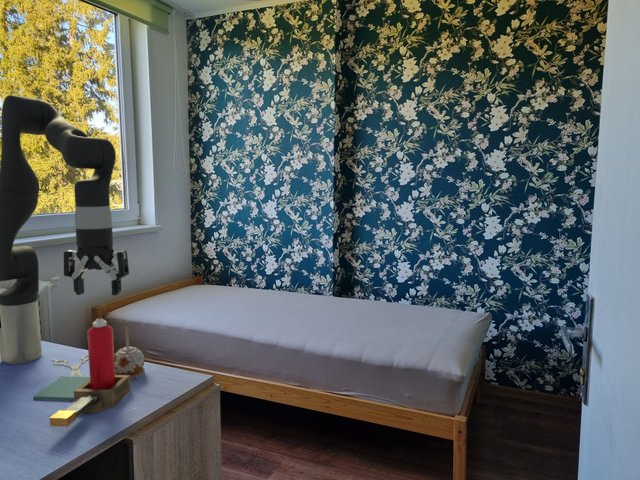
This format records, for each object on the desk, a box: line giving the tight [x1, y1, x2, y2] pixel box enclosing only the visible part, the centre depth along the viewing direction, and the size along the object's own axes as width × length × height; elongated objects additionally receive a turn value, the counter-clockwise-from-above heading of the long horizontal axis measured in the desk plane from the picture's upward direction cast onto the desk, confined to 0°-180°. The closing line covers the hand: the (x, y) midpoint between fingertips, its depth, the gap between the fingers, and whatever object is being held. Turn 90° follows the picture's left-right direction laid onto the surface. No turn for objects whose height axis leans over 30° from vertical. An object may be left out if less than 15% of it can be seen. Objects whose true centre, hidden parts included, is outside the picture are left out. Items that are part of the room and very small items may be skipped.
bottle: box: [86, 317, 116, 390], centre depth 106 cm, size 5×6×20 cm
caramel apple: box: [114, 321, 145, 380], centre depth 119 cm, size 8×8×15 cm
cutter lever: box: [49, 396, 99, 428], centre depth 96 cm, size 12×4×2 cm, turn 178°
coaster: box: [32, 375, 90, 402], centre depth 112 cm, size 11×11×1 cm
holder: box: [73, 375, 131, 415], centre depth 106 cm, size 9×12×4 cm
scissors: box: [51, 354, 89, 377], centre depth 124 cm, size 11×1×20 cm
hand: (97, 294), depth 104 cm, fingers open, 8 cm apart
